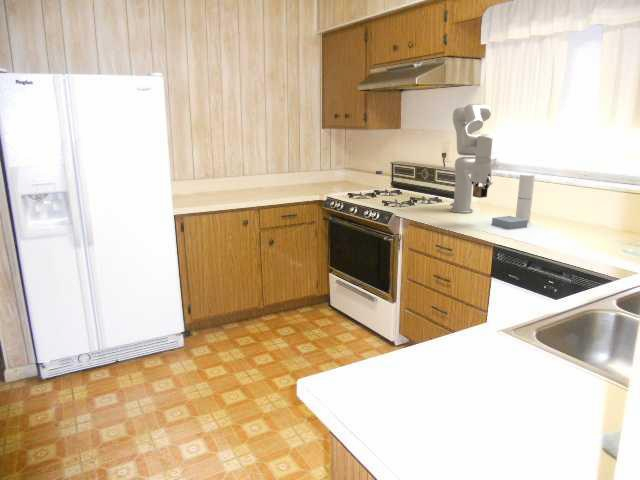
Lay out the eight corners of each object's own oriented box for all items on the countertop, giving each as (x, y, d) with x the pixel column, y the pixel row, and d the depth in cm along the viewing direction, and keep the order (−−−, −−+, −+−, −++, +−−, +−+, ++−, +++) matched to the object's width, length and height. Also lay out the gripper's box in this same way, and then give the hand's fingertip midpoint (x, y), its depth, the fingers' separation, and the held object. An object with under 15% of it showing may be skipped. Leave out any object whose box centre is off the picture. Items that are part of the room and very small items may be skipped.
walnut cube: (472, 196, 258) (473, 186, 256) (479, 195, 260) (480, 186, 259) (479, 197, 253) (480, 188, 252) (486, 197, 256) (487, 187, 254)
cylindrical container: (512, 220, 268) (517, 174, 262) (522, 219, 270) (527, 173, 264) (522, 223, 261) (527, 175, 255) (532, 222, 264) (537, 175, 258)
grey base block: (491, 225, 258) (492, 217, 257) (508, 223, 263) (509, 215, 262) (509, 230, 247) (510, 222, 246) (526, 227, 253) (527, 220, 252)
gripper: (465, 159, 258) (462, 193, 262) (489, 162, 243) (486, 198, 247) (476, 158, 261) (473, 192, 265) (501, 161, 246) (497, 197, 251)
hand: (479, 195), depth 256 cm, fingers closed on walnut cube, 5 cm apart
